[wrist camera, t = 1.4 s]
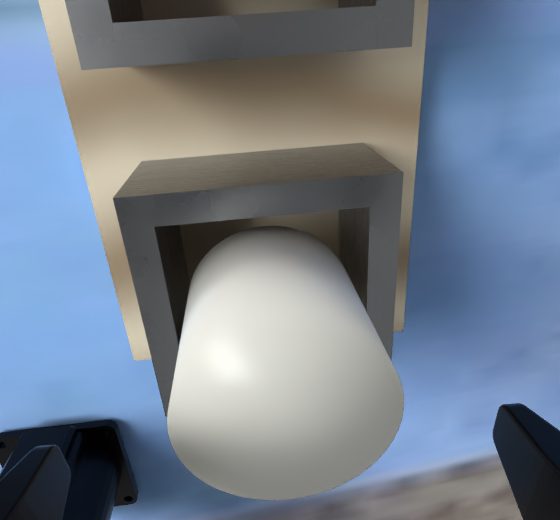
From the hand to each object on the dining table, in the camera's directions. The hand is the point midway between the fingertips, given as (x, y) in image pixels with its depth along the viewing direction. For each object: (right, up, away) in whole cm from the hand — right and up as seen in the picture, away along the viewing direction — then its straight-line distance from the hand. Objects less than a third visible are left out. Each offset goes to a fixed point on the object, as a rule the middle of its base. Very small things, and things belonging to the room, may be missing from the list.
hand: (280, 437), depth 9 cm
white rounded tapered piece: (0, +2, +6) cm, 7 cm away
